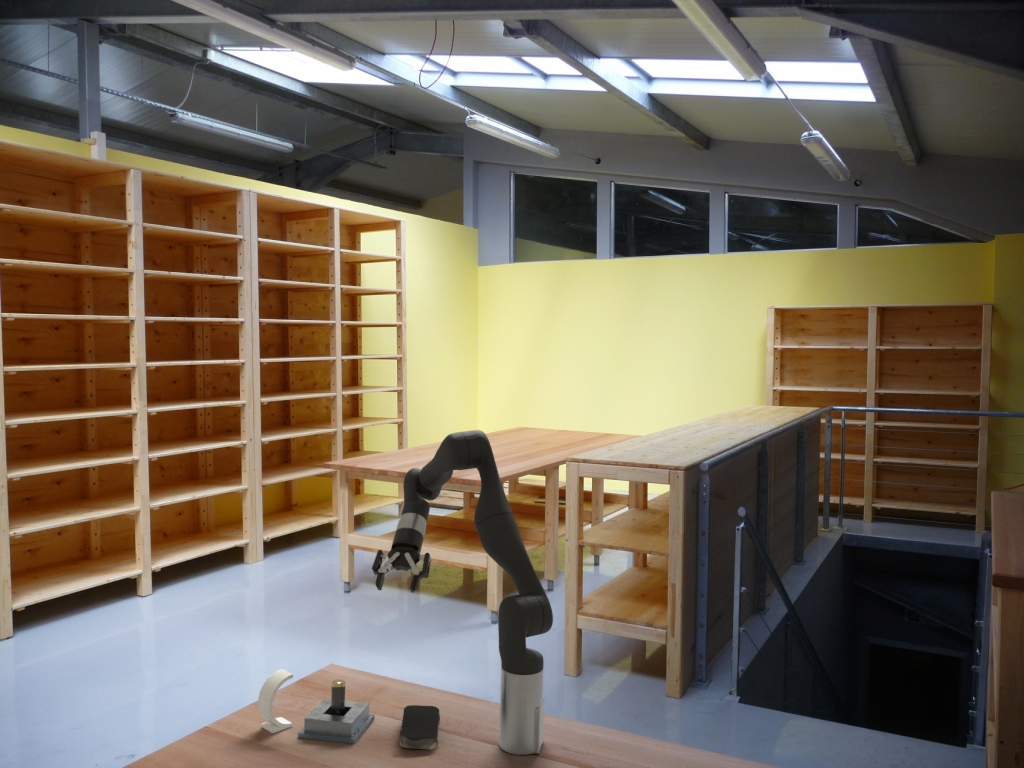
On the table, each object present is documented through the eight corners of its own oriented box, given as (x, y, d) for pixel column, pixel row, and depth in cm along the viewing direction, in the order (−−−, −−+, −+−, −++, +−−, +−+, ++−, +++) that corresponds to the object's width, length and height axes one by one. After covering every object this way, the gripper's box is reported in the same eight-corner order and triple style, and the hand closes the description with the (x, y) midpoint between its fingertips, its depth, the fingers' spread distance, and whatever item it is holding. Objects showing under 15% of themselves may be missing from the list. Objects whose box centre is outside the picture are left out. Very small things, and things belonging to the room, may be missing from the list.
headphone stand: (292, 726, 187) (293, 674, 186) (268, 735, 182) (269, 681, 182) (281, 720, 190) (282, 668, 189) (257, 728, 185) (258, 675, 185)
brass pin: (346, 721, 188) (347, 680, 187) (341, 727, 185) (342, 685, 184) (333, 720, 188) (334, 678, 188) (328, 725, 185) (329, 683, 185)
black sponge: (403, 720, 192) (403, 704, 192) (439, 719, 193) (440, 704, 193) (398, 753, 176) (398, 736, 176) (438, 753, 176) (438, 736, 176)
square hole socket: (374, 719, 192) (374, 701, 192) (353, 743, 179) (354, 725, 179) (321, 713, 194) (322, 696, 194) (297, 737, 181) (298, 719, 181)
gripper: (380, 525, 212) (364, 580, 201) (433, 527, 210) (420, 583, 199) (386, 541, 218) (371, 595, 207) (438, 544, 215) (426, 599, 204)
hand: (395, 589), depth 203 cm, fingers open, 8 cm apart
